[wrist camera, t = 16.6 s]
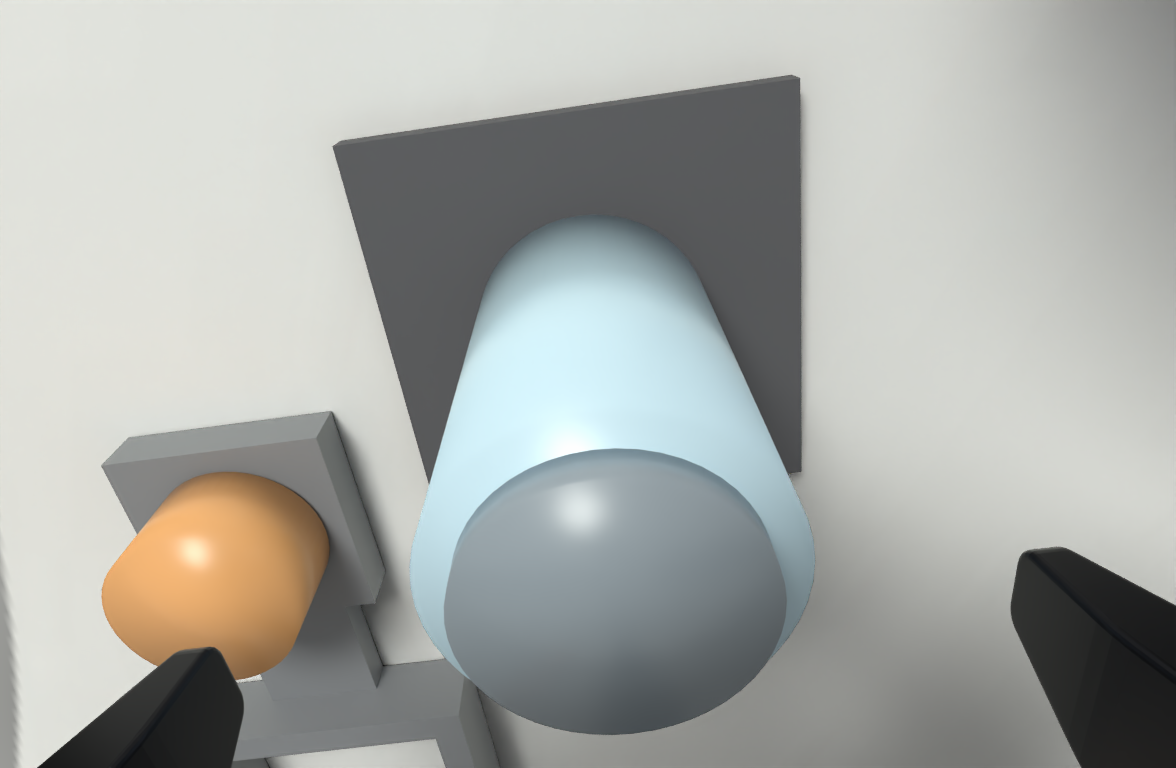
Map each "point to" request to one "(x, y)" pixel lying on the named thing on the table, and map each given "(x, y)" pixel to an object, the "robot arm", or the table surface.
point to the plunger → (219, 573)
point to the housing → (315, 602)
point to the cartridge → (606, 494)
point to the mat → (589, 187)
